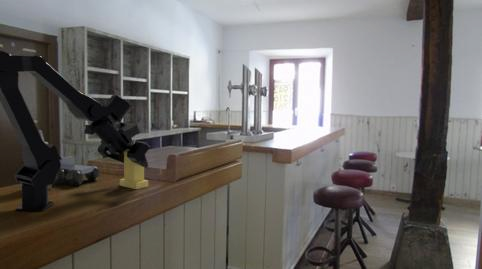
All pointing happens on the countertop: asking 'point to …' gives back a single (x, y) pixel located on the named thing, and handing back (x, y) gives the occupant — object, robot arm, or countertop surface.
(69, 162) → the trolley
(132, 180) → the yellow block on base
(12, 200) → the countertop surface
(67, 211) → the countertop surface
